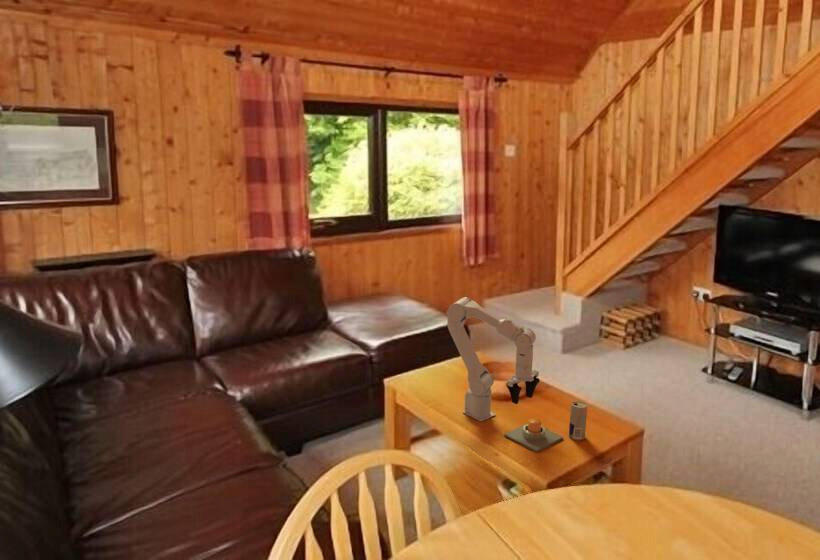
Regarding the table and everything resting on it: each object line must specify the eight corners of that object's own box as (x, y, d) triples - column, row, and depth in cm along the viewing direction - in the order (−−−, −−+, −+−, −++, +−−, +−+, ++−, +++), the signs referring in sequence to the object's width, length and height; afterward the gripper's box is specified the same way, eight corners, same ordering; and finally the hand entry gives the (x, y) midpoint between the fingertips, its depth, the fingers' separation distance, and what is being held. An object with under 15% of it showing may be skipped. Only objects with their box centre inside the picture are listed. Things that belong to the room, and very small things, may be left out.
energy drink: (572, 431, 207) (575, 399, 204) (587, 436, 203) (590, 404, 200) (566, 437, 203) (568, 405, 200) (581, 442, 199) (583, 409, 196)
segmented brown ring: (518, 434, 203) (518, 428, 202) (532, 428, 207) (532, 421, 207) (535, 443, 197) (535, 436, 196) (549, 436, 202) (549, 429, 201)
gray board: (504, 436, 203) (504, 433, 203) (530, 423, 212) (530, 421, 212) (536, 452, 193) (536, 450, 193) (563, 439, 201) (563, 436, 201)
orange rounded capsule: (524, 434, 202) (525, 421, 201) (533, 431, 205) (534, 417, 204) (534, 439, 199) (535, 426, 198) (543, 436, 202) (544, 422, 201)
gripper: (519, 372, 198) (517, 409, 202) (546, 362, 207) (544, 398, 211) (503, 366, 204) (501, 402, 207) (530, 356, 213) (528, 391, 216)
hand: (522, 399), depth 209 cm, fingers open, 7 cm apart
